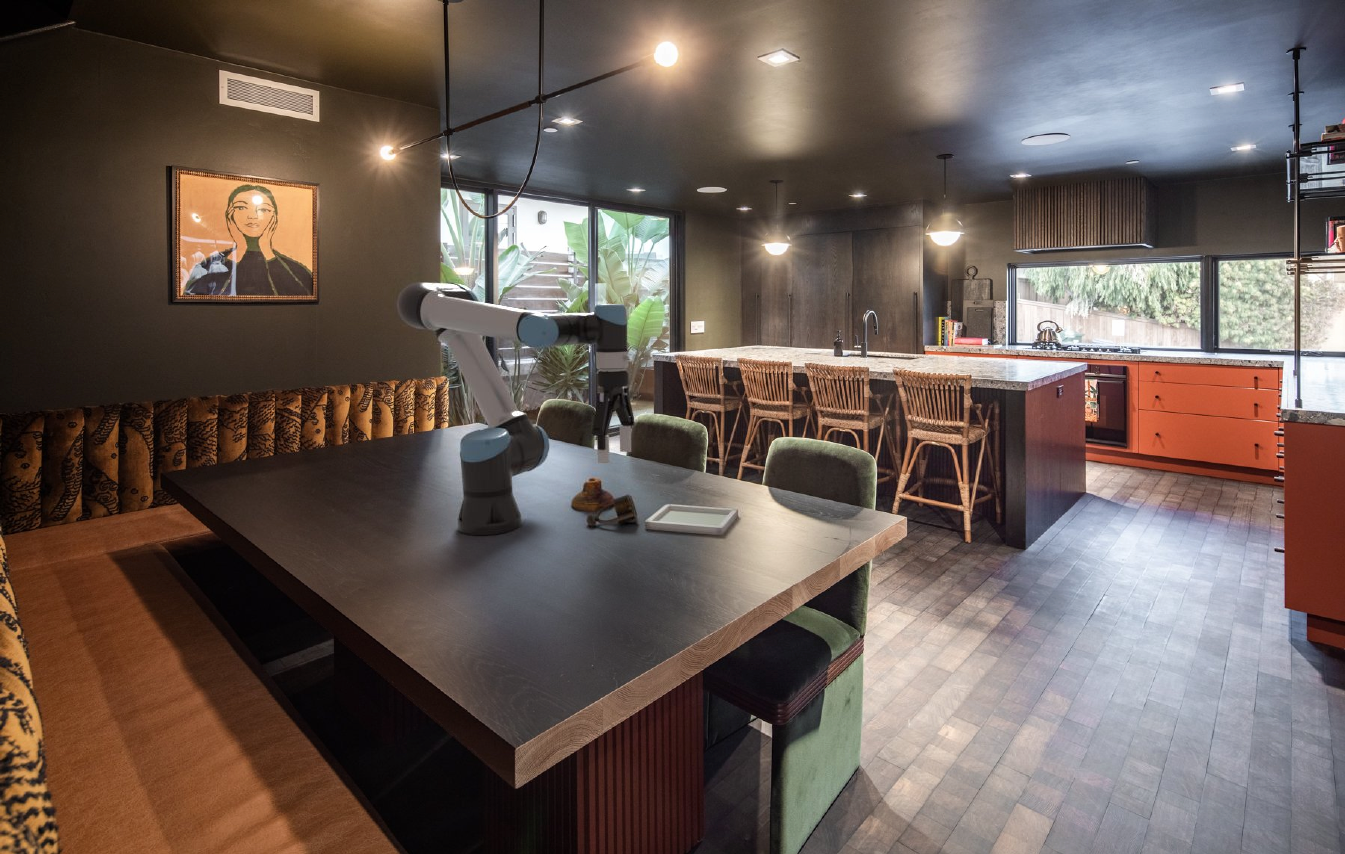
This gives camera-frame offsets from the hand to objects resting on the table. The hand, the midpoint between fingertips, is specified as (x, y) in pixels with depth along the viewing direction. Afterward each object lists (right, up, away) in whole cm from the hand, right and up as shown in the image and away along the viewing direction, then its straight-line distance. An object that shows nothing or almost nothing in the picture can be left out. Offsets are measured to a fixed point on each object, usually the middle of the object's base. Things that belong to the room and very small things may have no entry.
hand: (615, 457), depth 173 cm
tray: (+19, -16, +2) cm, 25 cm away
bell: (-7, -14, +19) cm, 25 cm away
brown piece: (-1, -17, +3) cm, 17 cm away
